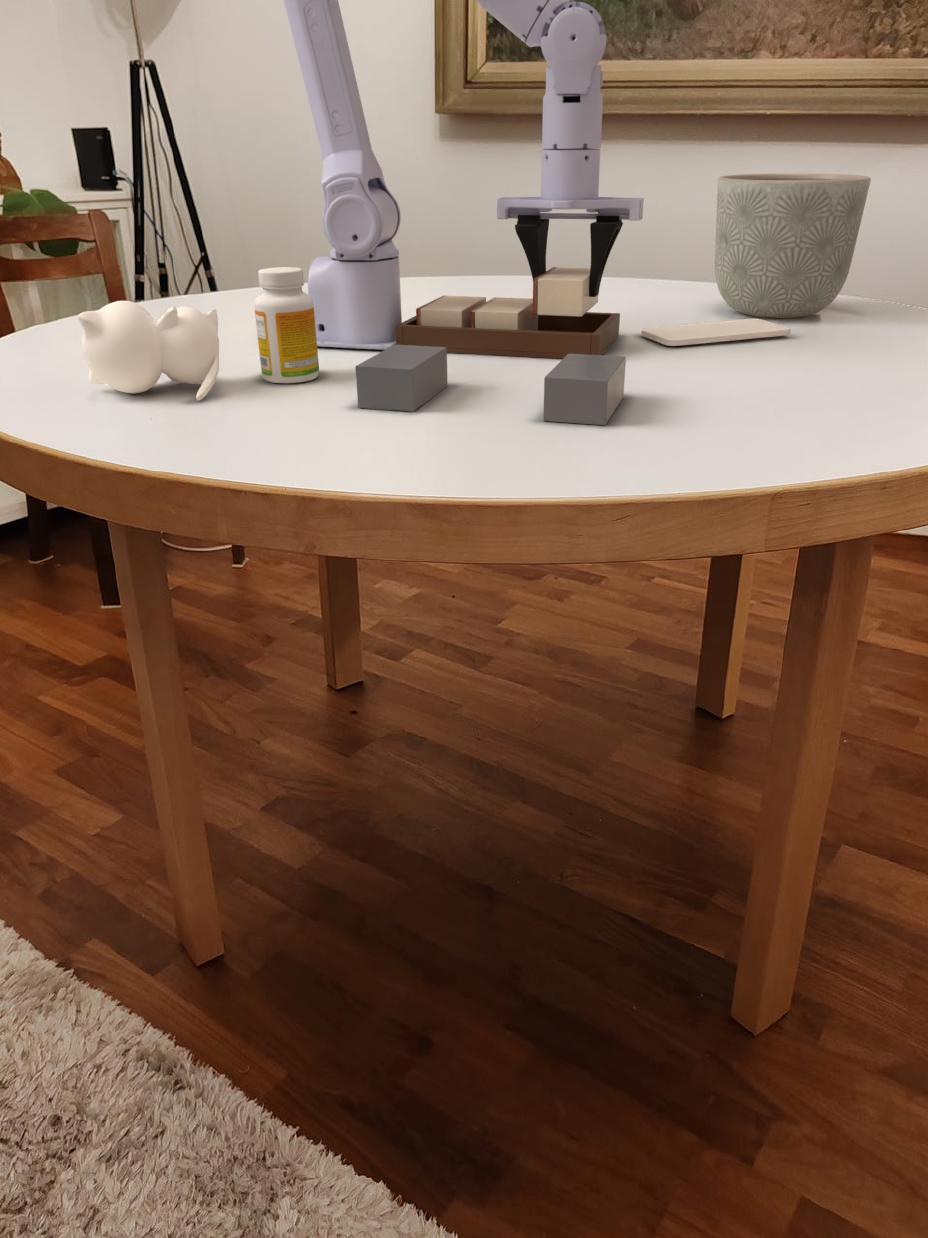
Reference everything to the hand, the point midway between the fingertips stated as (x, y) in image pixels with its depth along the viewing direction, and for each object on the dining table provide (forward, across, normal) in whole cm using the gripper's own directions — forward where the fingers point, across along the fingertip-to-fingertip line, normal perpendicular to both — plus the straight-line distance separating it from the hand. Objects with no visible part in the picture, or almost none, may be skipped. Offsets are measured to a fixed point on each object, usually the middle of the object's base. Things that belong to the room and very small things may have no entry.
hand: (566, 294), depth 99 cm
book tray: (+5, -6, 0) cm, 8 cm away
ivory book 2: (+5, -6, 0) cm, 8 cm away
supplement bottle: (+5, -22, -20) cm, 31 cm away
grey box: (+5, +7, -24) cm, 26 cm away
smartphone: (+5, +15, +8) cm, 18 cm away
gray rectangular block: (+5, -9, -24) cm, 27 cm away
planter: (+5, +21, +26) cm, 33 cm away
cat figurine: (+5, -31, -28) cm, 42 cm away
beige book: (+5, -12, 0) cm, 13 cm away
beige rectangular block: (+1, 0, 0) cm, 1 cm away
